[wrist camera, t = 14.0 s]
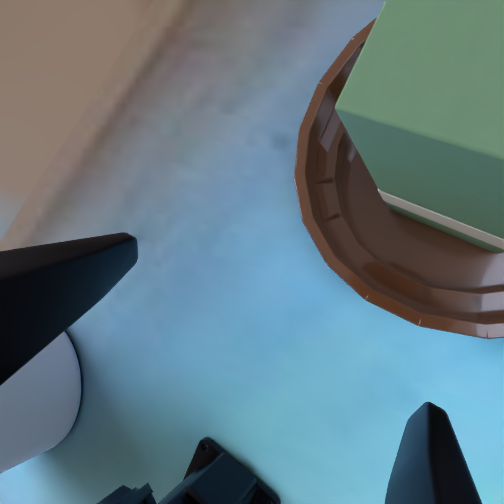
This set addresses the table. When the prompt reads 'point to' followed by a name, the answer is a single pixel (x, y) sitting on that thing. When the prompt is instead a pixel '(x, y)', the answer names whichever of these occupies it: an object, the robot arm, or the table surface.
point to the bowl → (387, 229)
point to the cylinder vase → (39, 403)
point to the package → (434, 114)
